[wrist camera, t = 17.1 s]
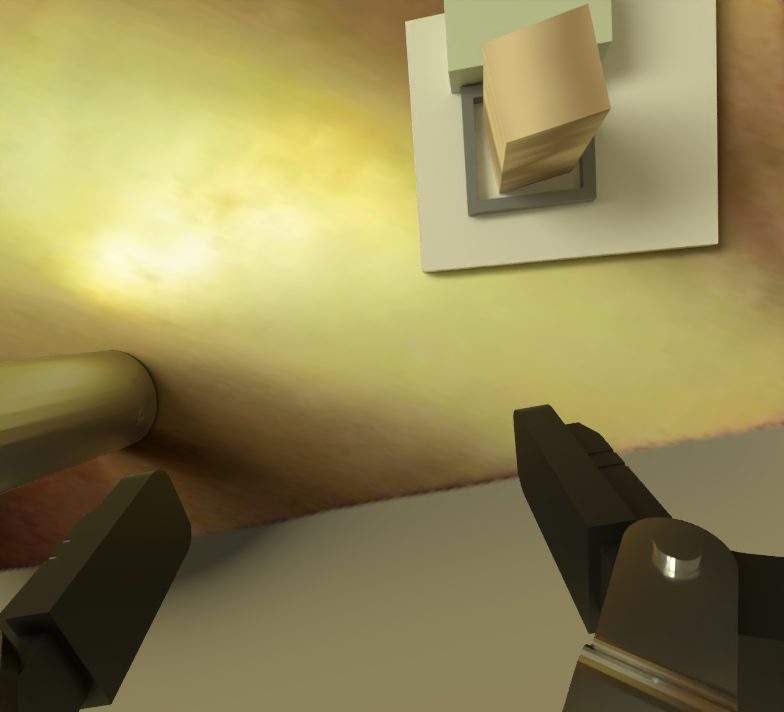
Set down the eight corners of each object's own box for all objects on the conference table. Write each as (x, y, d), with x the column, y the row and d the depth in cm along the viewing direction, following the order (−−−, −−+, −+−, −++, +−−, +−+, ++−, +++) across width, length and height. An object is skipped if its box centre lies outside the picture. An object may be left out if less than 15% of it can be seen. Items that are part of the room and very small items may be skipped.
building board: (424, 272, 35) (420, 270, 33) (408, 31, 33) (402, 12, 31) (709, 246, 31) (726, 241, 29) (706, -31, 29) (723, -58, 27)
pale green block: (451, 93, 32) (448, 71, 29) (446, 20, 32) (443, -10, 29) (599, 67, 30) (612, 40, 27) (597, -12, 30) (609, -47, 27)
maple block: (499, 193, 32) (506, 142, 22) (483, 125, 32) (483, 43, 22) (570, 172, 31) (611, 108, 21) (554, 100, 31) (588, 3, 21)
